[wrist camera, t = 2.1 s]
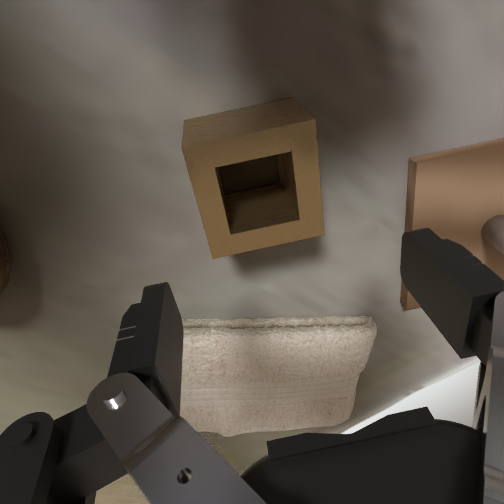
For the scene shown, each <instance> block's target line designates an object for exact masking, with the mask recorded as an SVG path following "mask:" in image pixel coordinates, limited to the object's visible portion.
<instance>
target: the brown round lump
mask: <svg viewBox="0 0 504 504" xmlns="http://www.w3.org/2000/svg"><path fill="white" fill-rule="evenodd" d="M10 265H11V257H10V253H9V250H8V247H7V244H6V241H5V238H4V235H3V233H2V232H1V230H0V295H1V294H2V292H3V291H4V289H5V287H6V286H7V284H8V282H9V275H10Z"/></svg>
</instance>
